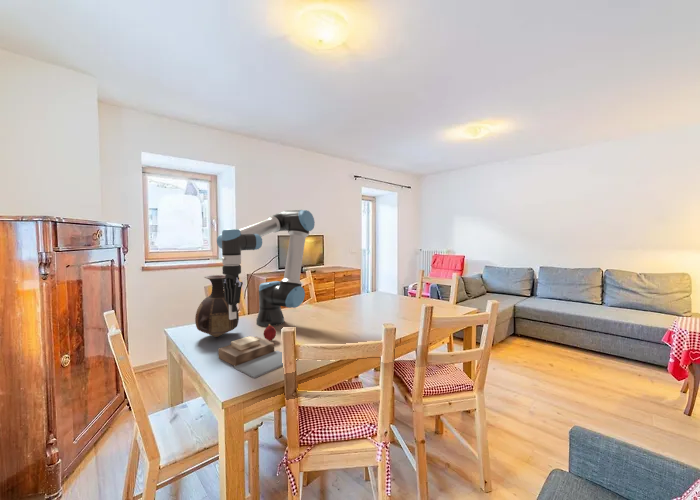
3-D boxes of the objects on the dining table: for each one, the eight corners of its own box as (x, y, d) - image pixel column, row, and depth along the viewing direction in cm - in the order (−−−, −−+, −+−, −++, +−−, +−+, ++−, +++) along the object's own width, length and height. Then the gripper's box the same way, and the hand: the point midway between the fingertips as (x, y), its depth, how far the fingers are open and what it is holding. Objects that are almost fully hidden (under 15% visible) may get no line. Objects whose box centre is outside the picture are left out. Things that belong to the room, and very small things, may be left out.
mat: (277, 351, 132) (277, 350, 132) (297, 359, 124) (297, 358, 124) (234, 368, 116) (234, 366, 116) (254, 378, 108) (254, 376, 108)
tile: (250, 340, 135) (250, 335, 134) (259, 343, 130) (259, 339, 130) (231, 346, 128) (231, 341, 127) (240, 350, 123) (240, 345, 123)
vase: (206, 348, 136) (203, 281, 134) (185, 339, 148) (183, 277, 146) (250, 334, 154) (249, 275, 152) (229, 326, 166) (227, 271, 164)
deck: (256, 345, 140) (256, 336, 139) (274, 352, 131) (274, 343, 131) (218, 358, 126) (218, 348, 125) (235, 366, 117) (235, 356, 117)
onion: (278, 340, 145) (278, 324, 144) (268, 344, 141) (268, 327, 140) (271, 338, 149) (271, 321, 148) (261, 341, 144) (260, 324, 144)
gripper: (215, 264, 134) (216, 318, 135) (231, 266, 125) (232, 323, 127) (231, 263, 139) (232, 314, 141) (248, 265, 131) (248, 319, 132)
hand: (232, 318), depth 134 cm, fingers closed
